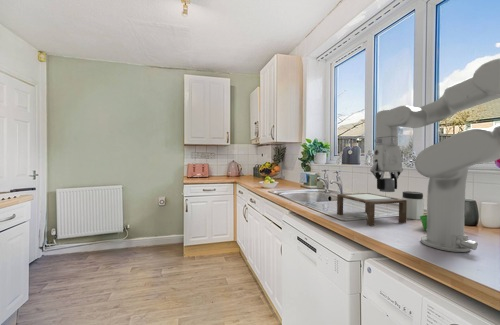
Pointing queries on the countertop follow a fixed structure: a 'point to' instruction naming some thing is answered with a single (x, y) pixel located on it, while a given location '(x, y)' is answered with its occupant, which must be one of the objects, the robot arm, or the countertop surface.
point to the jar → (414, 204)
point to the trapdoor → (370, 197)
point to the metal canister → (389, 185)
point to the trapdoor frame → (373, 206)
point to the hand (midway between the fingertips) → (387, 188)
